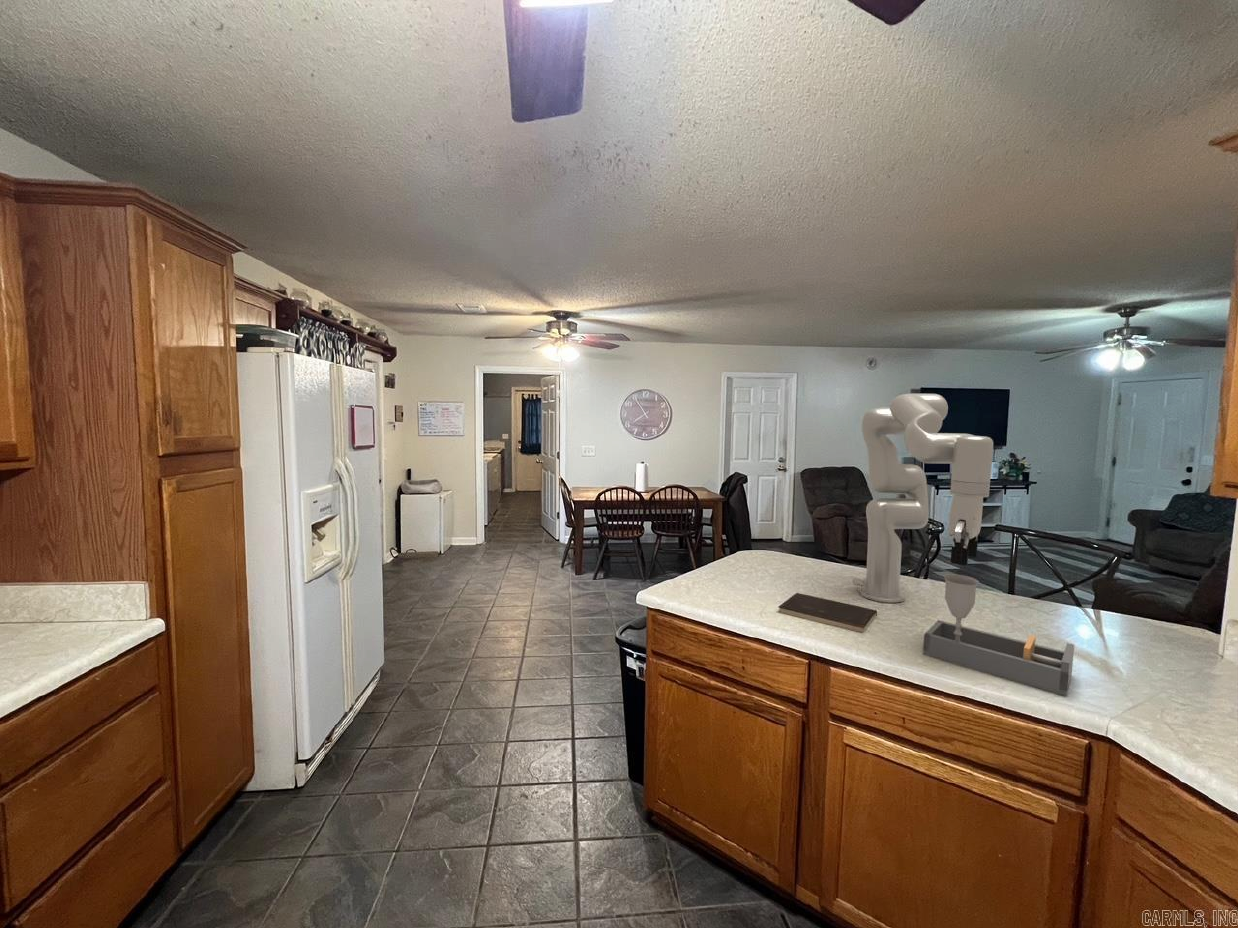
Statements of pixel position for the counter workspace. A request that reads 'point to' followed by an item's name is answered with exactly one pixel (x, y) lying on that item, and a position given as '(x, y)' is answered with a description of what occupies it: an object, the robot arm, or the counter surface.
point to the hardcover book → (828, 612)
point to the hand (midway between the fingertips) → (963, 559)
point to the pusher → (1030, 655)
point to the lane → (1000, 656)
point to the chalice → (960, 598)
